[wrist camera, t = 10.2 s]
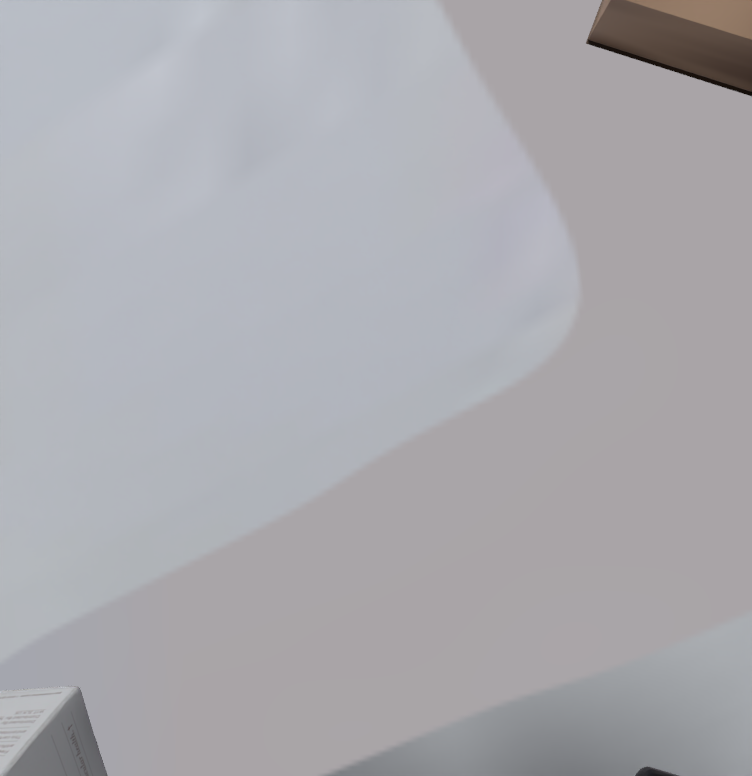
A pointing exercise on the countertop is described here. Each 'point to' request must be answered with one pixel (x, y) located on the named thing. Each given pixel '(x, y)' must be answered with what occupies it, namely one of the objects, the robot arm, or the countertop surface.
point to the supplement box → (47, 734)
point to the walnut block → (682, 37)
